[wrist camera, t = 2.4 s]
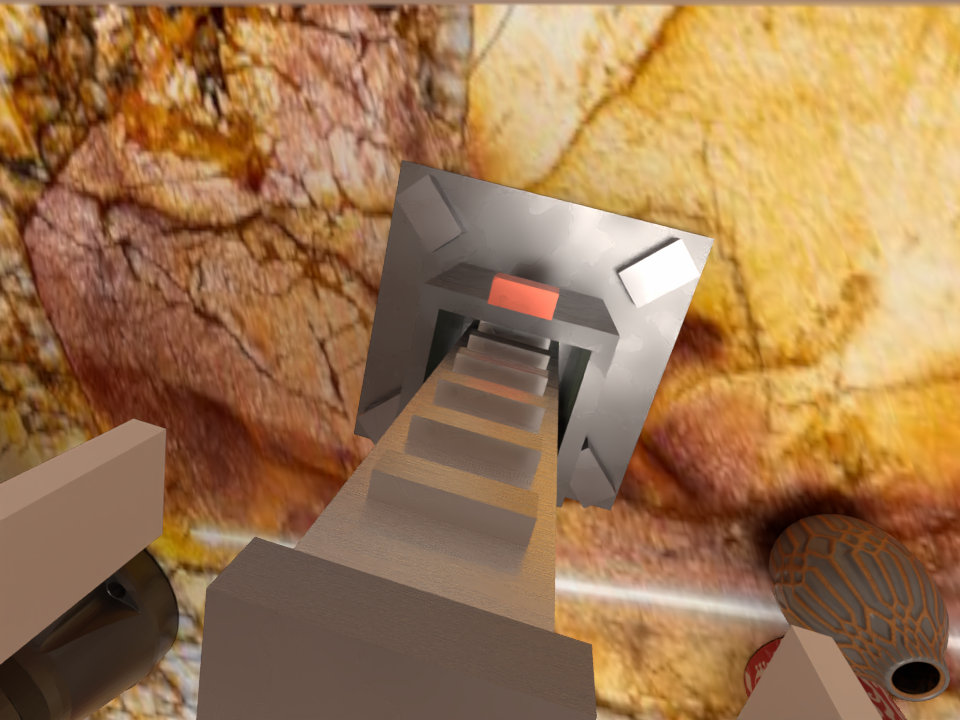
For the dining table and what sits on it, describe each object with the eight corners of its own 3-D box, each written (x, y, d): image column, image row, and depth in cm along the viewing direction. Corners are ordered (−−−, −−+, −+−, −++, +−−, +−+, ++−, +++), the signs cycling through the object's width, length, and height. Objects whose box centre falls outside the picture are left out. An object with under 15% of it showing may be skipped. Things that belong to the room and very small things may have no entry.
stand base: (360, 427, 31) (279, 514, 22) (407, 162, 26) (328, 137, 17) (608, 501, 30) (629, 624, 21) (708, 237, 25) (790, 253, 16)
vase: (911, 527, 28) (1058, 662, 20) (832, 613, 30) (935, 766, 22) (798, 474, 28) (898, 585, 20) (728, 563, 30) (792, 696, 22)
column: (462, 375, 28) (187, 835, 8) (482, 290, 27) (207, 575, 6) (544, 398, 28) (494, 948, 7) (570, 313, 26) (602, 705, 6)
